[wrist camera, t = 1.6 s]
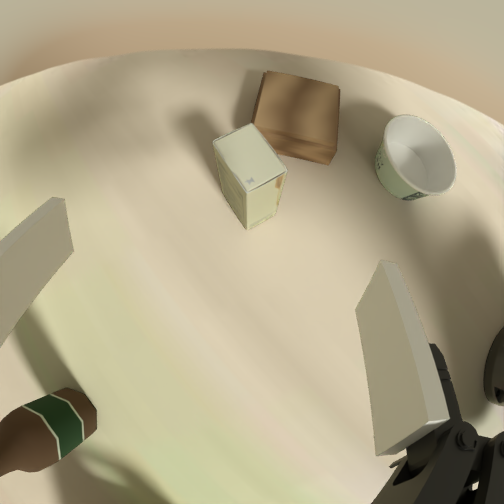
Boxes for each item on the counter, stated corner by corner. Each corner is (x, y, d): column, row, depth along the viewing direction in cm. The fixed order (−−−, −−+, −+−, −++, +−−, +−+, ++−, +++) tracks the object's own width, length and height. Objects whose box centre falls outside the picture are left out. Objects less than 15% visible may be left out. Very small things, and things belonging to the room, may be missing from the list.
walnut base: (333, 104, 40) (342, 84, 35) (328, 165, 38) (338, 147, 33) (262, 89, 40) (264, 67, 35) (247, 148, 38) (248, 128, 33)
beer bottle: (49, 387, 31) (-73, 429, 8) (89, 384, 32) (-41, 442, 8) (67, 435, 30) (-37, 502, 7) (107, 435, 31) (6, 525, 7)
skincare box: (276, 214, 36) (292, 173, 24) (246, 232, 36) (248, 197, 24) (249, 173, 37) (252, 119, 25) (219, 189, 37) (210, 140, 25)
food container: (363, 129, 39) (379, 104, 33) (427, 146, 39) (448, 127, 33) (367, 202, 37) (388, 185, 31) (436, 215, 37) (462, 202, 31)
